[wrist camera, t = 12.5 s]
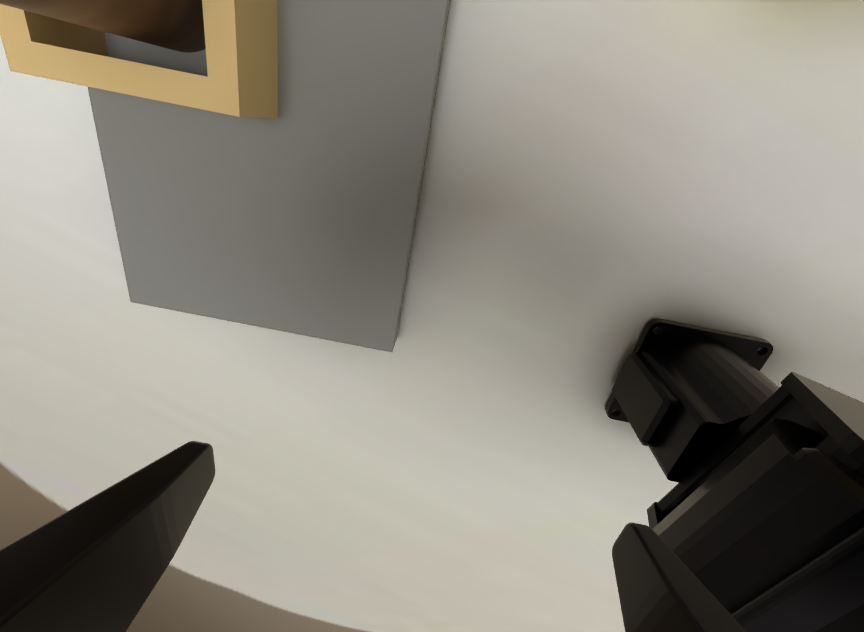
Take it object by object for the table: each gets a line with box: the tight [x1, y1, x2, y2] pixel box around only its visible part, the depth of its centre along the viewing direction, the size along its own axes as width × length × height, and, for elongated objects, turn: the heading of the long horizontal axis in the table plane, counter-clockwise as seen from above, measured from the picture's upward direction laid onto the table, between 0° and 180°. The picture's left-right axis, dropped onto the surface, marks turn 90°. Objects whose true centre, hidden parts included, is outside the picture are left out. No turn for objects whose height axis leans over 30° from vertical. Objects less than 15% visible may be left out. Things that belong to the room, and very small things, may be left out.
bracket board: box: [0, 0, 450, 352], centre depth 15 cm, size 14×20×4 cm
